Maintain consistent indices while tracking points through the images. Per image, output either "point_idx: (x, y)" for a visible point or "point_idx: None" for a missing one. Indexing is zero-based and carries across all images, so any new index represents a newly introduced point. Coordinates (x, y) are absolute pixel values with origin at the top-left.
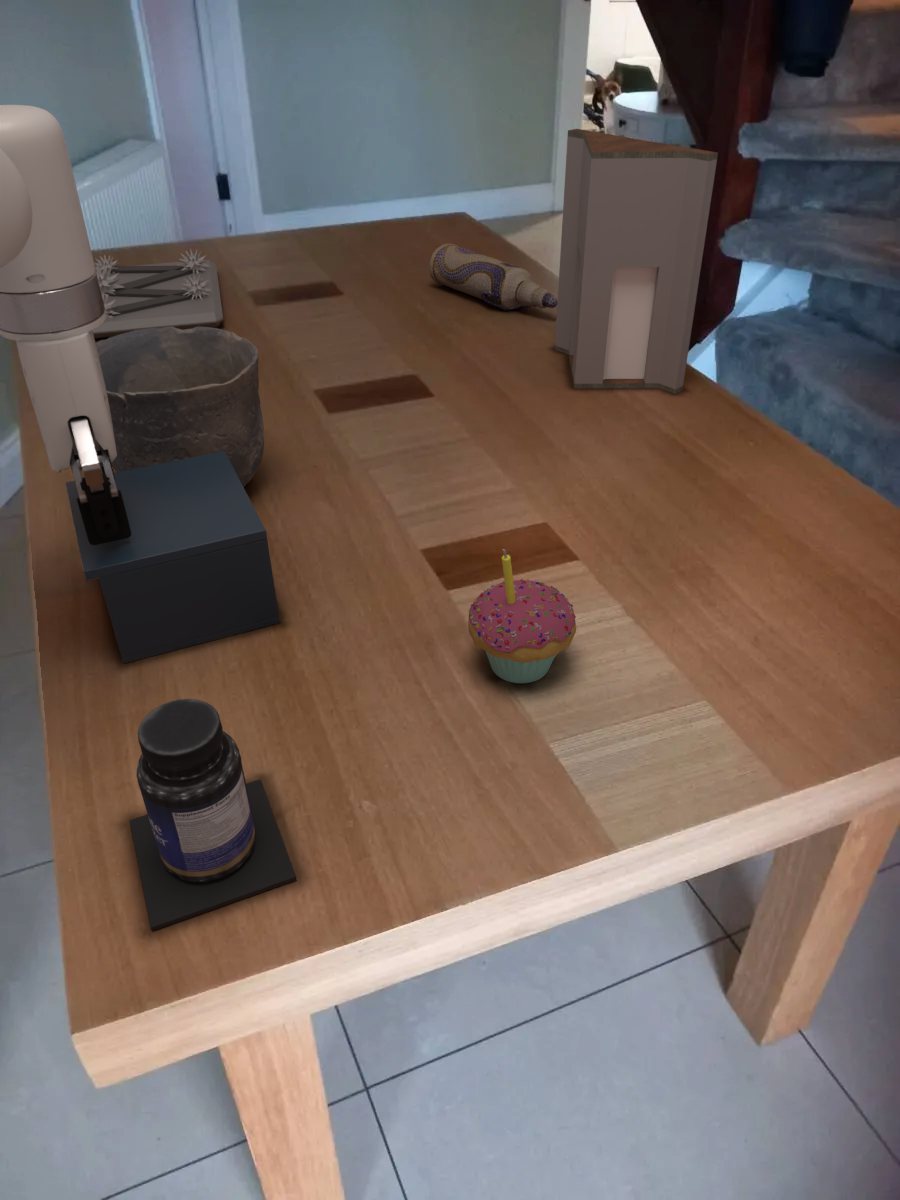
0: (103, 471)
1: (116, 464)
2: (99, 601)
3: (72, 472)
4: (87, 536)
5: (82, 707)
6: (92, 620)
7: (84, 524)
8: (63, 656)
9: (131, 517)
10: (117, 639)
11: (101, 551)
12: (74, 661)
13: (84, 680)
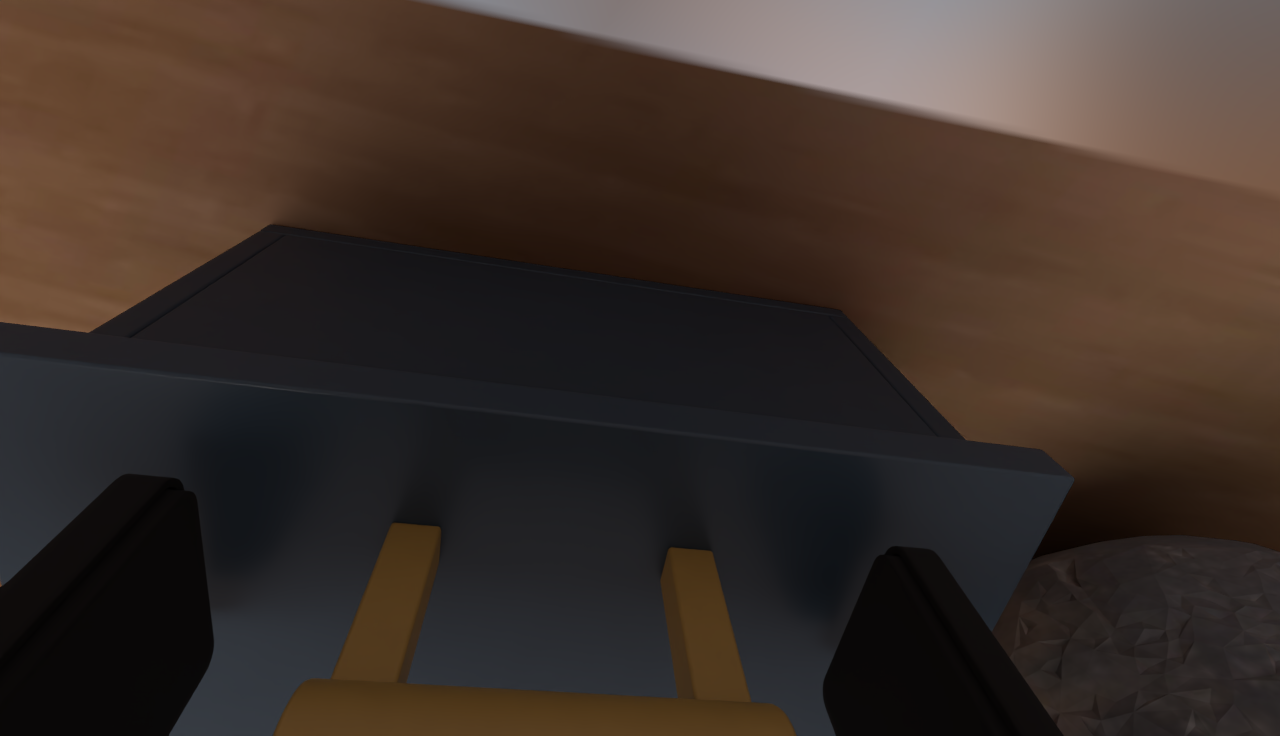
0: (857, 731)
1: (1214, 586)
2: (663, 253)
3: (950, 623)
4: (87, 507)
5: (66, 29)
6: (568, 204)
7: (16, 581)
8: (405, 54)
9: (474, 654)
10: (219, 255)
11: (169, 476)
12: (357, 81)
13: (228, 81)
